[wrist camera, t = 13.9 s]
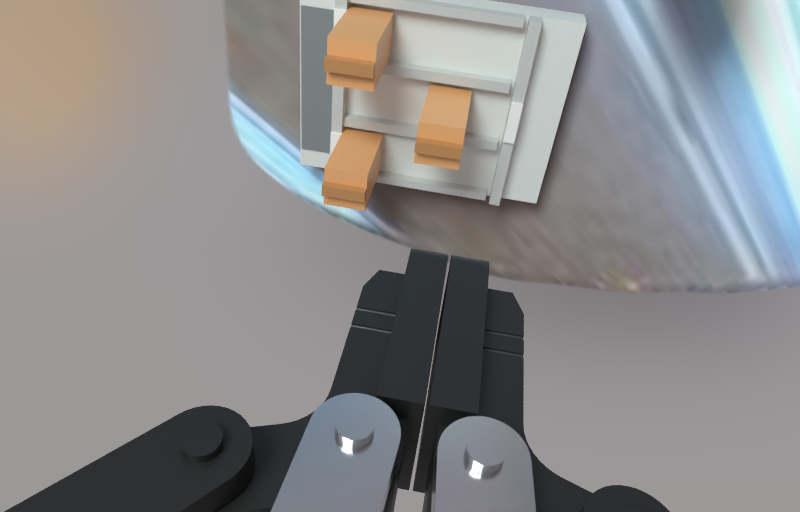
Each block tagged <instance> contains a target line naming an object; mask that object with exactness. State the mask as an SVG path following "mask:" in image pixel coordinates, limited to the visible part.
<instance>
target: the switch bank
mask: <svg viewBox="0 0 800 512" xmlns="http://www.w3.org/2000/svg"><path fill="white" fill-rule="evenodd" d="M349 6H353V7H360V8H367V9H373V10H380V11H387V12H393V13H394V17H393V29H392V40H391V52H390V58H389V60H388V62H387V64H386V66H385V69H384V71H383V73H382V75H381V77H380V79H379V81H378V83H377V86H376V88H375V90H374V92H372V91H366V90H359V89H353V88H347V87H341V86H334V85H328V84H326V74H327V71H324V58H325V56H326V55H327V36H328V35H329V33H330V32H331V31H332V29H333V28H334V26H335V25H336V24H337V22H338V21H339V20H340V18H341V17H342V16H343V14H344V13H345V12H346V10H347V9H348V8H349ZM586 25H587V23H586V19H585V14H578V13H572V12H565V11H558V10H551V9H544V8H538V7H531V6H524V5H517V4H511V3H504V2H497V1H490V0H300V109H301V164H303V165H309V166H315V167H321V168H324V167H325V165H326V164H327V162H328V160H329V158H330V156H331V154H332V152H333V150H334V148H335V146H336V144H337V142H338V140H339V138H340V136H341V134H342V132H343V130H344V128H348V129H354V130H360V131H366V132H373V133H379V134H383V144H382V155H381V167H380V171H379V174H378V176H377V179H376V182H377V183H383V184H389V185H395V186H401V187H407V188H413V189H419V190H425V191H431V192H437V193H443V194H449V195H455V196H461V197H467V198H473V199H479V200H484V201H485V199H486V195H488V196H489V204H491V205H497V206H499V204H500V200H501V198H506V199H512V200H518V201H524V202H530V203H537V199H538V196H539V192H540V188H541V185H542V181H543V178H544V174H545V171H546V167H547V164H548V160H549V156H550V153H551V149H552V146H553V142H554V139H555V135H556V132H557V128H558V124H559V121H560V117H561V114H562V110H563V107H564V103H565V100H566V96H567V92H568V89H569V85H570V82H571V78H572V75H573V71H574V68H575V64H576V60H577V57H578V53H579V50H580V46H581V43H582V39H583V36H584V32H585V29H586ZM430 84H434V85H440V86H447V87H453V88H459V89H466V90H472V94H471V100H470V106H469V112H468V118H467V125H466V130H465V136H464V142H463V147H462V153H461V159H460V164H459V170H454V169H448V168H442V167H436V166H430V165H424V164H418V163H414V155H415V153H414V149H415V141H416V138H417V131H418V123H419V119H420V115H421V112H422V109H423V105H424V102H425V99H426V96H427V92H428V89H429V86H430Z"/></svg>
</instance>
